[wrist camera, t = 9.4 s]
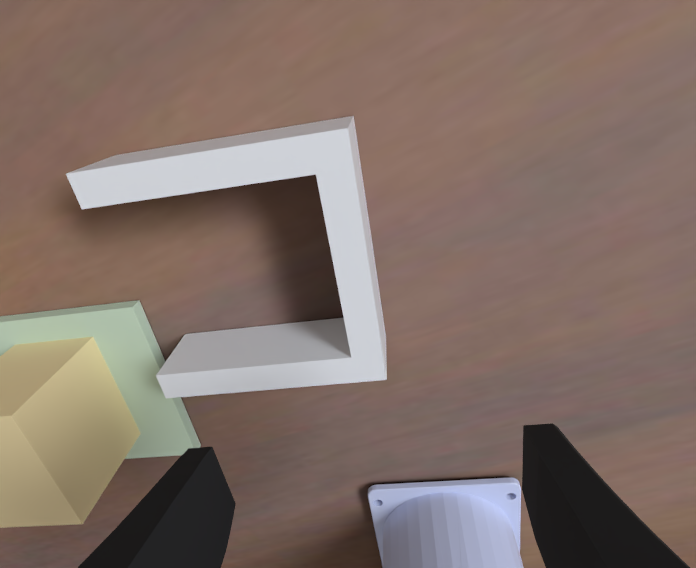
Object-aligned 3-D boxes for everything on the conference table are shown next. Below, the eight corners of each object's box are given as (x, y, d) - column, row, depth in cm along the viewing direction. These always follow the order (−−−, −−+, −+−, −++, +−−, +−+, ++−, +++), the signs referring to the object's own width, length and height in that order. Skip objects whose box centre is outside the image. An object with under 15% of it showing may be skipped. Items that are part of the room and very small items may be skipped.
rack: (385, 336, 20) (386, 379, 17) (193, 355, 21) (165, 398, 18) (353, 115, 16) (347, 127, 13) (115, 155, 17) (66, 173, 14)
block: (140, 433, 23) (83, 524, 18) (70, 438, 23) (-3, 527, 19) (93, 336, 20) (11, 415, 16) (15, 344, 21) (-85, 423, 16)
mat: (201, 445, 24) (197, 454, 23) (50, 455, 25) (43, 464, 24) (139, 300, 20) (132, 306, 19) (-36, 320, 21) (-47, 327, 20)
